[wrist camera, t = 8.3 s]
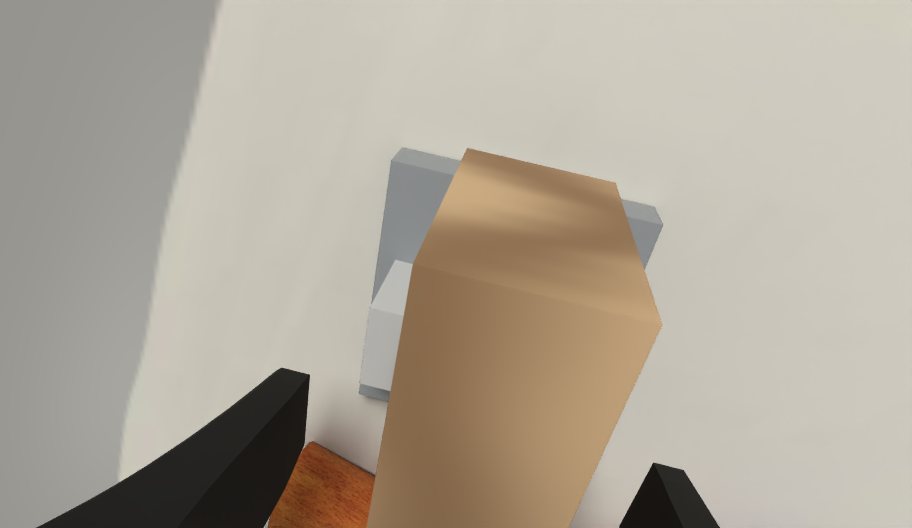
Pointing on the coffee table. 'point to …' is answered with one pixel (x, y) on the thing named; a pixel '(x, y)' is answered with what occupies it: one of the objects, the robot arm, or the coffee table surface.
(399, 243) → the balance stand
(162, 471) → the robot arm
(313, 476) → the kendama
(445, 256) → the oak bar
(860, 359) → the coffee table surface
